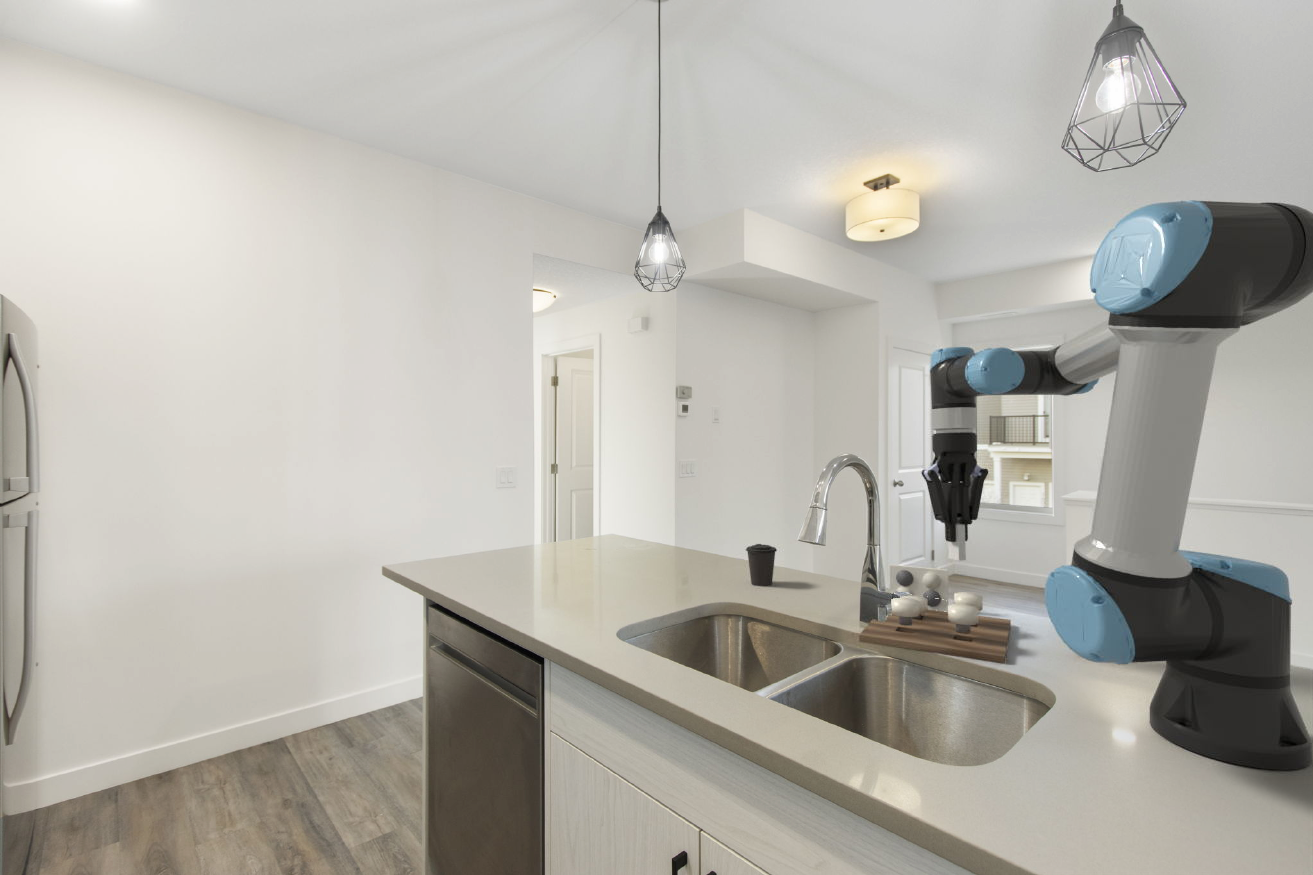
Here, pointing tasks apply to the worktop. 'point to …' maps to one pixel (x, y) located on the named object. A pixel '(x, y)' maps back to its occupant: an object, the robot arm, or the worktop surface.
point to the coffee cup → (761, 564)
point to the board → (943, 636)
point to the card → (922, 584)
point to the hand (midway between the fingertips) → (957, 559)
